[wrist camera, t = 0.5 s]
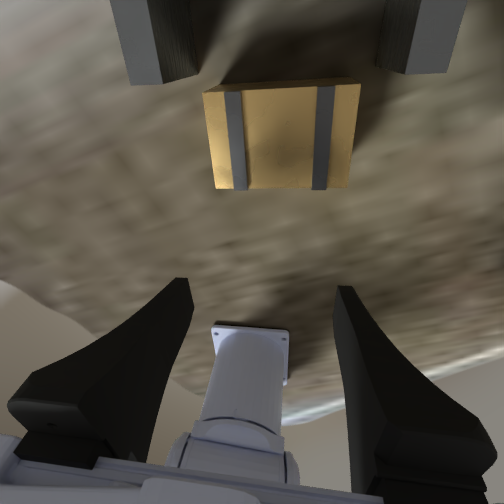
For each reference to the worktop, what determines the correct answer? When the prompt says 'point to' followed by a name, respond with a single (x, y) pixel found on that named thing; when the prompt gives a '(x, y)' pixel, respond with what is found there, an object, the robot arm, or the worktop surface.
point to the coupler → (184, 56)
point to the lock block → (282, 133)
